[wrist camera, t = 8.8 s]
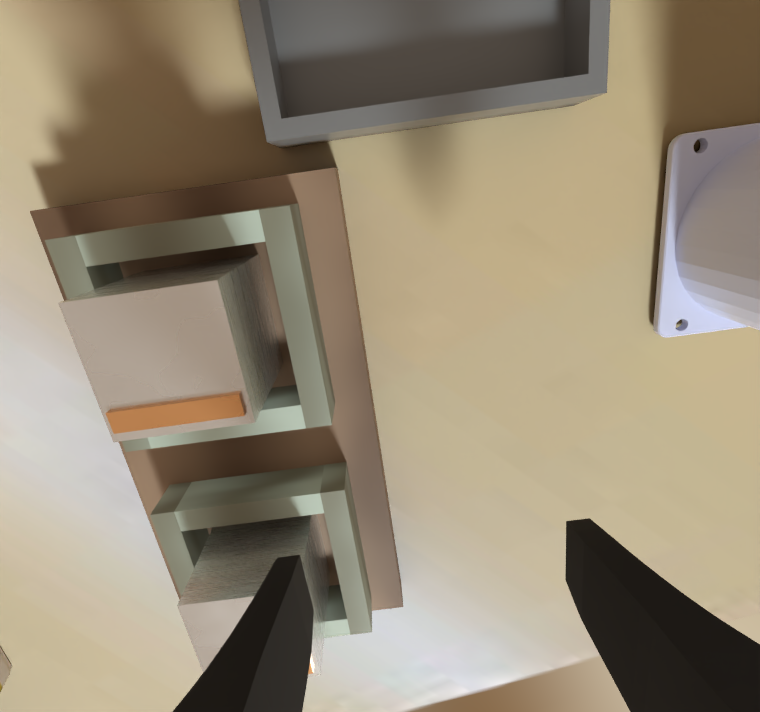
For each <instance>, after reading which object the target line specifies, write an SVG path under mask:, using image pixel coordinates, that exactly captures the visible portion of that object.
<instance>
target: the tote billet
mask: <svg viewBox="0 0 760 712" xmlns="http://www.w3.org/2000/svg"><path fill="white" fill-rule="evenodd" d="M59 306H60V308H61V311H62V313H63V316H64V318H65V321H66V323H67V326H68V329H69V331H70V334H71V336H72V339H73V341H74V344H75V346H76V349H77V351H78V354H79V356H80V359H81V361H82V364H83V366H84V369H85V371H86V374H87V376H88V379H89V381H90V384H91V386H92V389H93V391H94V394H95V396H96V399H97V401H98V404H99V407H100V409H101V412H102V414H103V417H104V419H105V422H106V424H107V427H108V429H109V432H110V434H111V437H112V439H113V442H119V441H126V440H133V439H141V438H148V437H155V436H163V435H170V434H177V433H185V432H192V431H199V430H206V429H214V428H221V427H228V426H236V425H243V424H250V423H255V422H256V420H257V418H258V416H259V414H260V412H261V409H262V407H263V405H264V403H265V401H266V399H267V397H268V395H269V392H270V390H271V388H272V386H273V384H274V382H275V380H276V378H277V375H278V373H279V371H280V369H281V367H282V365H283V359H282V355H281V350H280V346H279V341H278V337H277V333H276V328H275V324H274V320H273V315H272V311H271V307H270V302H269V298H268V294H267V289H266V285H265V281H264V276H263V272H262V267H261V263H260V259H259V254H256V255H249V256H242V257H235V258H228V259H221V260H214V261H208V262H201V263H194V264H187V265H180V266H173V267H166V268H160V269H153V270H146V271H141V272H139V273H136V274H134V275H131V276H128V277H126V278H123V279H120V280H118V281H115V282H113V283H110V284H107V285H105V286H102V287H99V288H97V289H94V290H91V291H89V292H86V293H84V294H81V295H78V296H76V297H73V298H70V299H68V300H65V301H63V302H60V303H59Z"/></svg>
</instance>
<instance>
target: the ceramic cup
mask: <svg viewBox="0 0 760 712" xmlns="http://www.w3.org/2000/svg"><path fill="white" fill-rule="evenodd" d="M10 669H11V664H10V662H9V661H8V659H7V657H6V656H5V654H4V652H3V651H2V649H1V647H0V692H1V690H2V688H3V686H4V684H5V682H6V680H7V678H8V676H9V674H10Z"/></svg>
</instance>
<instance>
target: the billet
mask: <svg viewBox="0 0 760 712" xmlns="http://www.w3.org/2000/svg"><path fill="white" fill-rule="evenodd" d="M294 555H300V557H301V561H302V565H303V569H304V573H305V577H306V581H307V585H308V589H309V593H310V597H311V601H312V605H313V609H314V617H313V636H312V652H311V659H310V665H309V671H308V677H309V676H317V675H321V665H322V655H323V644H324V633H325V623H326V612H327V602H328V591H329V581H330V570H329V565H328V561H327V556H326V552H325V548H324V543H323V539H322V534H321V530H320V525H319V521H318V516H317V514H314V515H306V516H298V517H290V518H283V519H275V520H267V521H259V522H251V523H243V524H235V525H227V526H220V527H213V528H212V530H211V532H210V535H209V537H208V539H207V541H206V543H205V546H204V548H203V550H202V552H201V554H200V557H199V559H198V561H197V563H196V566H195V568H194V570H193V572H192V574H191V577H190V579H189V581H188V583H187V585H186V588H185V590H184V592H183V594H182V597H181V599H180V601H179V603H178V605H177V606H178V609H179V611H180V614H181V616H182V619H183V622H184V624H185V627H186V629H187V632H188V634H189V637H190V639H191V642H192V645H193V647H194V650H195V652H196V655H197V657H198V660H199V662H200V665H201V668H202V670H203V673H204V671H205V670H206V669H207V667H208V666H209V664H210V663H211V662H212V660H213V659H214V657H215V656H216V654H217V653H218V652H219V650H220V649H221V647H222V646H223V644H224V643H225V642H226V640H227V639H228V637H229V636H230V634H231V633H232V631H233V630H234V628H235V627H236V625H237V623H238V622H239V620H240V619H241V617H242V615H243V614H244V612H245V611H246V609H247V608H248V606H249V604H250V603H251V601H252V599H253V598H254V596H255V594H256V593H257V591H258V589H259V588H260V586H261V584H262V583H263V581H264V579H265V577H266V576H267V574H268V572H269V570H270V568H271V567H272V565H273V563H274V561H275V560H276V559H277V558H278V557H286V556H294Z"/></svg>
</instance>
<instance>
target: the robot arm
mask: <svg viewBox="0 0 760 712" xmlns="http://www.w3.org/2000/svg"><path fill="white" fill-rule="evenodd" d="M697 140H699V141H700V145H701V146H700V149H699V150H698V152H697V153H696V152H695V151H694V147H693V146H694V144H695V142H696V141H697ZM681 319H682V323H681V325H680V326H679V327H678V328H676V323H677V322H678V321H679V320H681ZM653 327H654V331H655V332H656V333H657V334H659V335H661V336H663V337H675V336H682V335H690V334H697V333H705V332H712V331H720V330H727V329H735V328H743V327H752V328H754V329H757V330H760V123H754V124H747V125H740V126H733V127H726V128H719V129H712V130H705V131H698V132H691V133H685V134H681V135H678V136H676V137H675V138H674V139H673V140H672V141H671V143H670V144H669V148H668V154H667V167H666V179H665V191H664V203H663V215H662V227H661V240H660V252H659V264H658V276H657V288H656V300H655V313H654V325H653ZM566 582H567V584H568V587H569V590H570V592H571V595H572V597H573V600H574V602H575V605H576V607H577V610H578V612H579V614H580V617H581V619H582V621H583V623H584V625H585V627H586V629H587V631H588V633H589V635H590V637H591V638H592V640H593V642H594V644H595V646H596V648H597V650H598V652H599V654H600V655H601V657H602V659H603V661H604V663H605V665H606V667H607V669H608V670H609V672H610V674H611V676H612V678H613V680H614V682H615V684H616V685H617V687H618V689H619V691H620V693H621V695H622V697H623V698H624V700H625V702H626V704H627V706H628V708H629V710H630V711H631V712H760V644H758V643H756V642H755V641H753V640H751V639H750V638H748V637H747V636H745V635H744V634H742V633H740V632H739V631H737V630H736V629H734V628H732V627H731V626H730V625H728V624H726V623H725V622H723V621H722V620H720V619H719V618H717V617H716V616H714V615H713V614H711V613H710V612H708V611H707V610H705V609H704V608H703V607H701V606H700V605H698V604H697V603H695V602H694V601H693V600H691V599H690V598H688V597H687V596H686V595H684V594H683V593H682V592H680V591H679V590H678V589H676V588H675V587H674V586H672V585H671V584H670V583H668V582H667V581H666V580H664V579H663V578H662V577H661V576H659V575H658V574H657V573H655V572H654V571H653V570H652V569H650V568H649V567H648V566H646V565H645V564H644V563H643V562H641V561H640V560H639V559H638V558H636V557H635V556H634V555H633V554H632V553H630V552H629V551H628V550H627V549H626V548H624V547H623V546H622V545H621V544H620V543H618V542H617V541H616V540H615V539H614V538H612V537H611V536H610V535H609V534H608V533H606V532H605V531H604V530H603V529H602V528H600V527H599V526H598V525H597V524H596V523H594V522H593V521H592V520H591V519H581V520H573V521H566ZM313 617H314V609H313V605H312V601H311V597H310V593H309V589H308V585H307V581H306V577H305V573H304V569H303V565H302V561H301V557H300V555H294V556H286V557H278V558H277V559H276V560H275V561H274V563H273V565H272V567H271V568H270V570H269V572H268V574H267V576H266V577H265V579H264V581H263V583H262V584H261V586H260V588H259V589H258V591H257V593H256V594H255V596H254V598H253V599H252V601H251V603H250V604H249V606H248V608H247V609H246V611H245V612H244V614H243V615H242V617H241V619H240V620H239V622H238V623H237V625H236V627H235V628H234V630H233V631H232V633H231V634H230V636H229V637H228V639H227V640H226V642H225V643H224V644H223V646H222V647H221V649H220V650H219V652H218V653H217V654H216V656H215V657H214V659H213V660H212V662H211V663H210V664H209V666H208V667H207V669H206V670H205V671H204V673H203V674H202V675H201V677H200V678H199V679H198V681H197V682H196V683H195V685H194V686H193V687H192V688H191V690H190V691H189V692H188V693H187V695H186V696H185V697H184V698H183V700H182V701H181V702H180V703H179V705H178V706H177V707H176V708H175V709H174V711H173V712H302V708H303V702H304V696H305V690H306V684H307V678H308V671H309V665H310V659H311V652H312V636H313Z"/></svg>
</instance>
